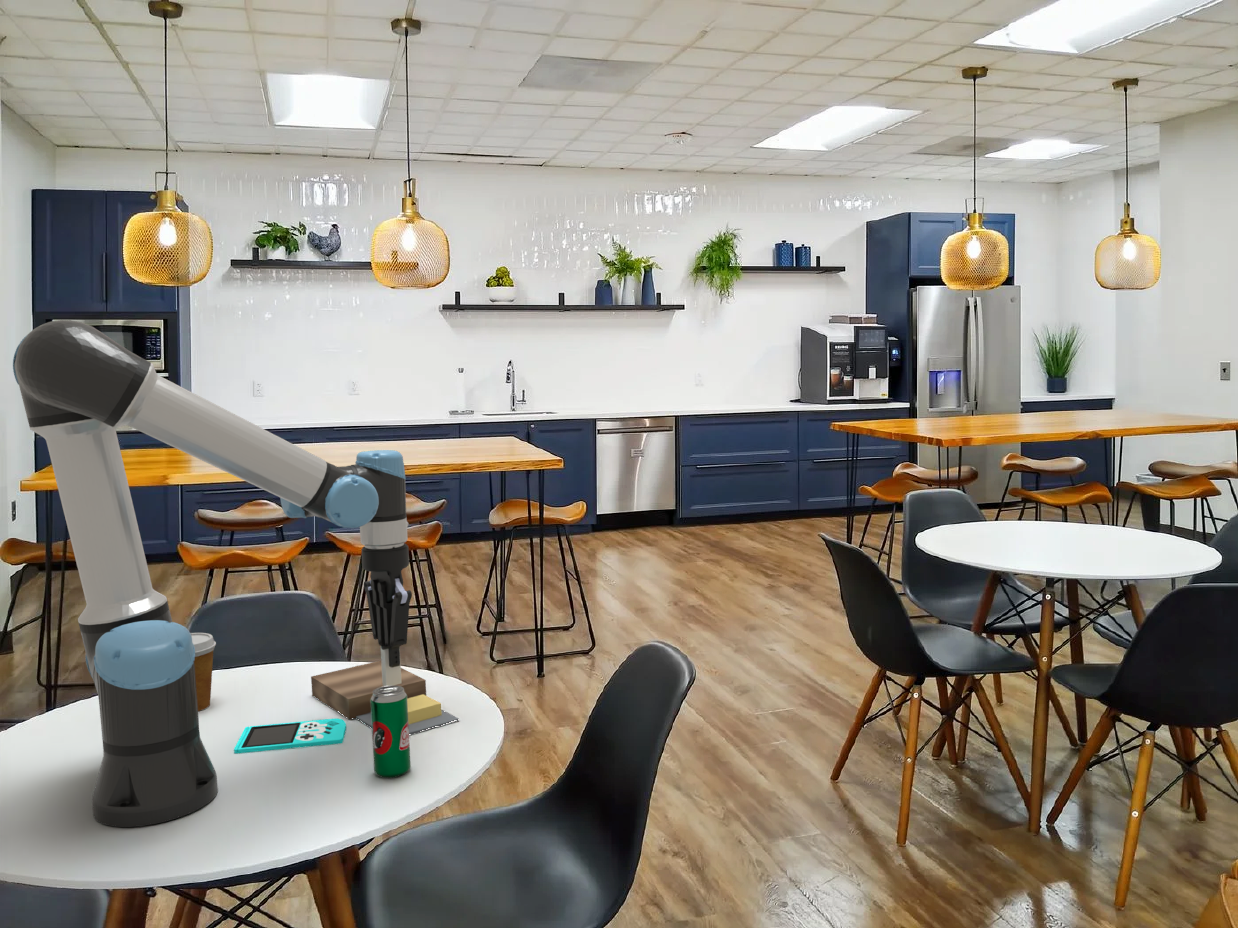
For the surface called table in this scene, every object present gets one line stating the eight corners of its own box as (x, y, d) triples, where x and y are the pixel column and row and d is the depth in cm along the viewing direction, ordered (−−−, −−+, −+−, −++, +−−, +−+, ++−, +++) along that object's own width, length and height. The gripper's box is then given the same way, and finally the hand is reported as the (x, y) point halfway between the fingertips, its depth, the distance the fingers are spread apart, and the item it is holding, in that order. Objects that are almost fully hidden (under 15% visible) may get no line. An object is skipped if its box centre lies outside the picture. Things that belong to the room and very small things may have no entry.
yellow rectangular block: (423, 694, 162) (423, 705, 163) (373, 707, 157) (374, 719, 157) (440, 703, 158) (441, 714, 158) (390, 716, 152) (391, 729, 152)
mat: (459, 720, 156) (459, 718, 156) (390, 740, 149) (390, 738, 149) (421, 701, 166) (421, 698, 166) (355, 718, 159) (355, 716, 158)
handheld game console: (342, 746, 148) (342, 738, 148) (232, 757, 145) (232, 748, 145) (348, 723, 158) (347, 715, 158) (245, 733, 155) (244, 725, 155)
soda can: (410, 777, 135) (405, 694, 134) (372, 781, 134) (368, 697, 133) (411, 763, 140) (407, 682, 139) (375, 766, 139) (371, 685, 138)
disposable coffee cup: (200, 694, 173) (195, 629, 172) (231, 704, 167) (226, 636, 166) (148, 710, 165) (143, 642, 164) (179, 721, 160) (173, 650, 158)
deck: (426, 699, 167) (425, 679, 166) (349, 719, 158) (348, 699, 158) (385, 677, 179) (384, 659, 179) (312, 695, 170) (311, 676, 170)
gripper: (424, 546, 156) (431, 688, 158) (387, 536, 166) (394, 670, 168) (381, 552, 151) (389, 699, 153) (346, 542, 161) (354, 680, 163)
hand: (392, 683), depth 161 cm, fingers closed
